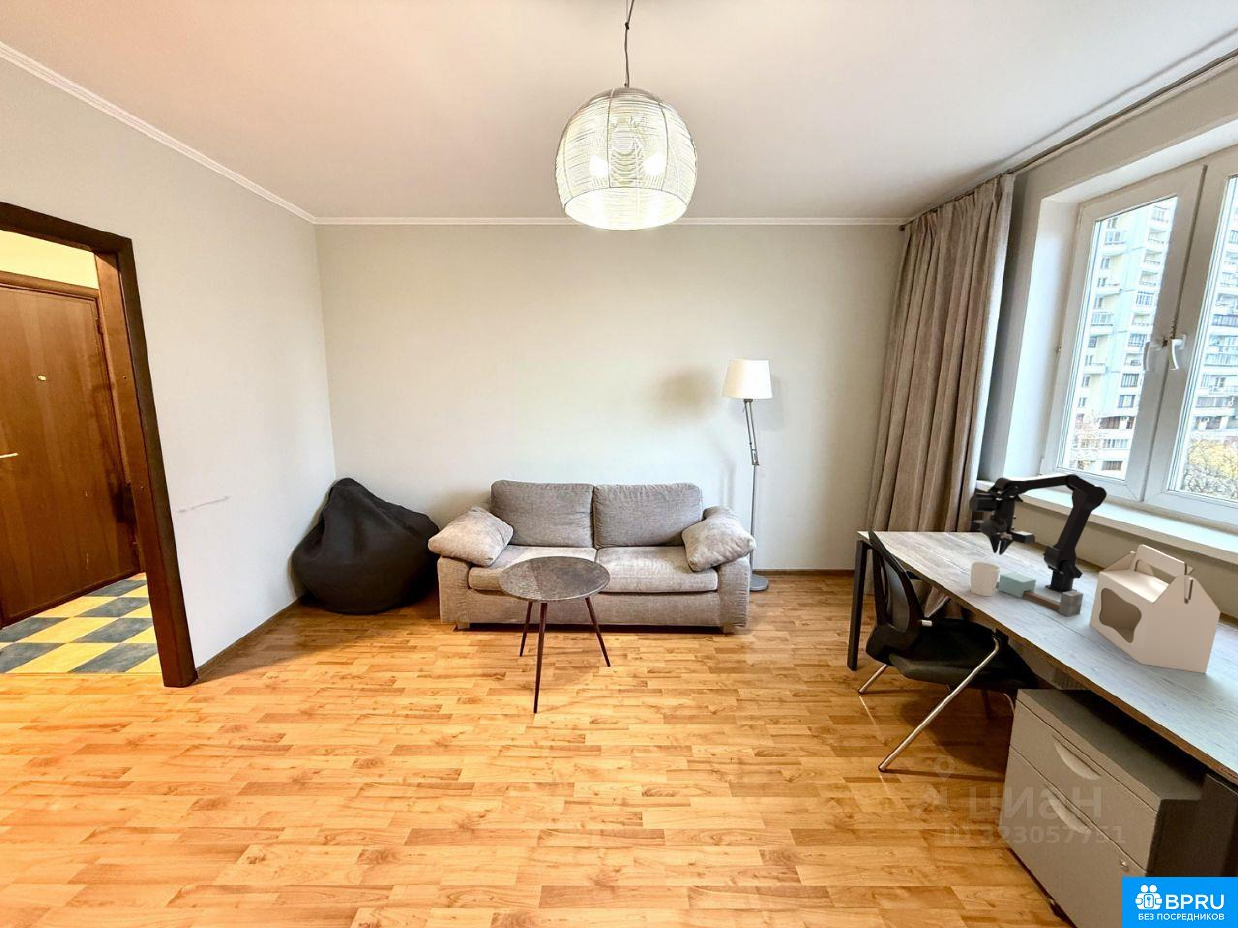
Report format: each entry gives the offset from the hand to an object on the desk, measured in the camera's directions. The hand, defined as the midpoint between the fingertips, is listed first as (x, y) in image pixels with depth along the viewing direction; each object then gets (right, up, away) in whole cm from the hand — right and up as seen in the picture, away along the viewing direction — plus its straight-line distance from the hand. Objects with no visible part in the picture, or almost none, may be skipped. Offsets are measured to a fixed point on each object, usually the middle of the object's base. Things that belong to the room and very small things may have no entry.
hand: (997, 553), depth 171 cm
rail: (+4, -14, -10) cm, 18 cm away
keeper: (+2, -13, -5) cm, 14 cm away
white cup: (-9, -13, -5) cm, 17 cm away
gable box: (+9, -19, -39) cm, 44 cm away
